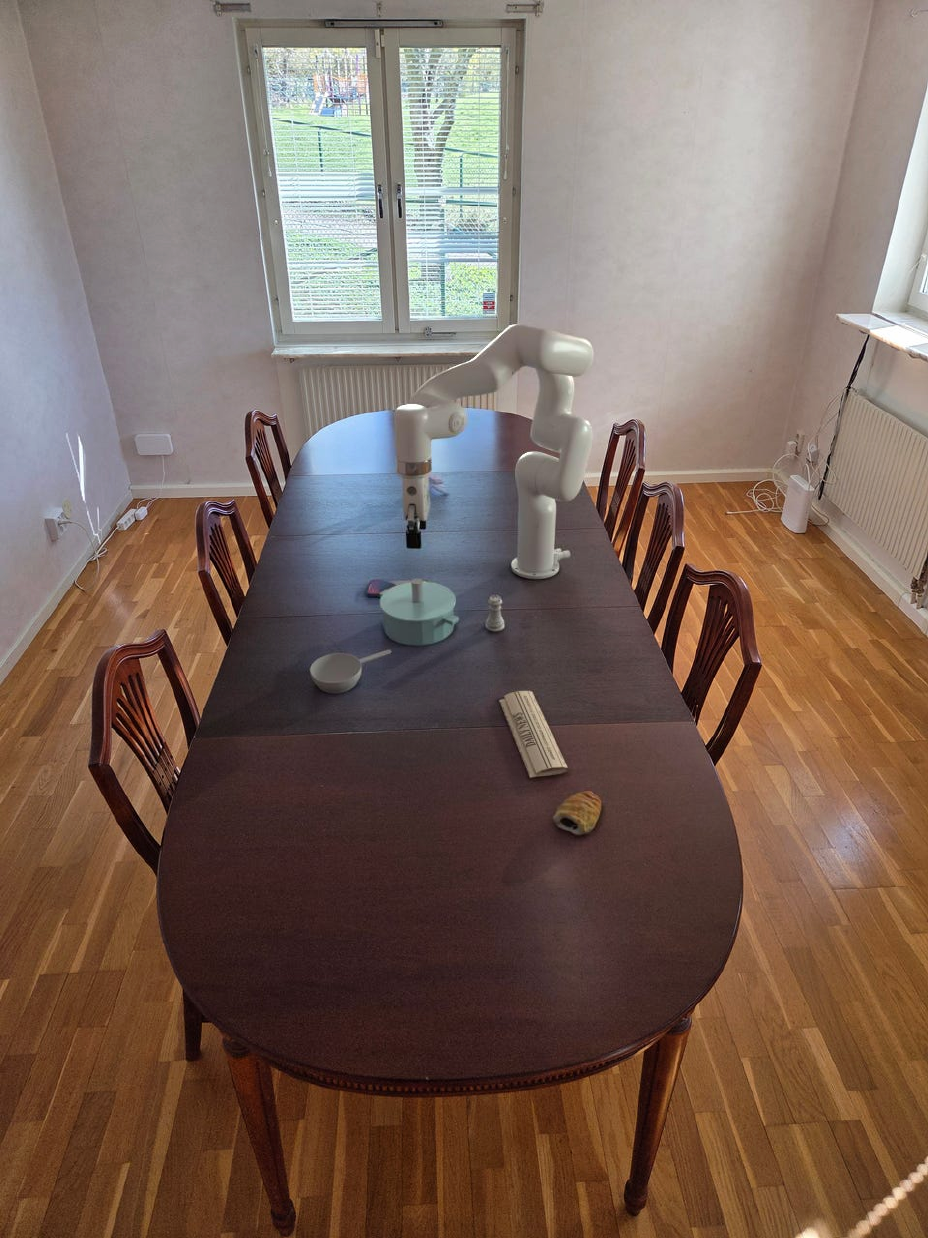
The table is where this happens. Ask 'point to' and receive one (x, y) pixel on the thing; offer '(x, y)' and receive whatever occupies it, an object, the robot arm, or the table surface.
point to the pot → (419, 629)
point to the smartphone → (384, 586)
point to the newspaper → (532, 734)
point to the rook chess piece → (495, 615)
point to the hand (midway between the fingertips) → (416, 538)
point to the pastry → (578, 813)
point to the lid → (417, 601)
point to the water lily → (436, 483)
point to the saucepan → (339, 671)
